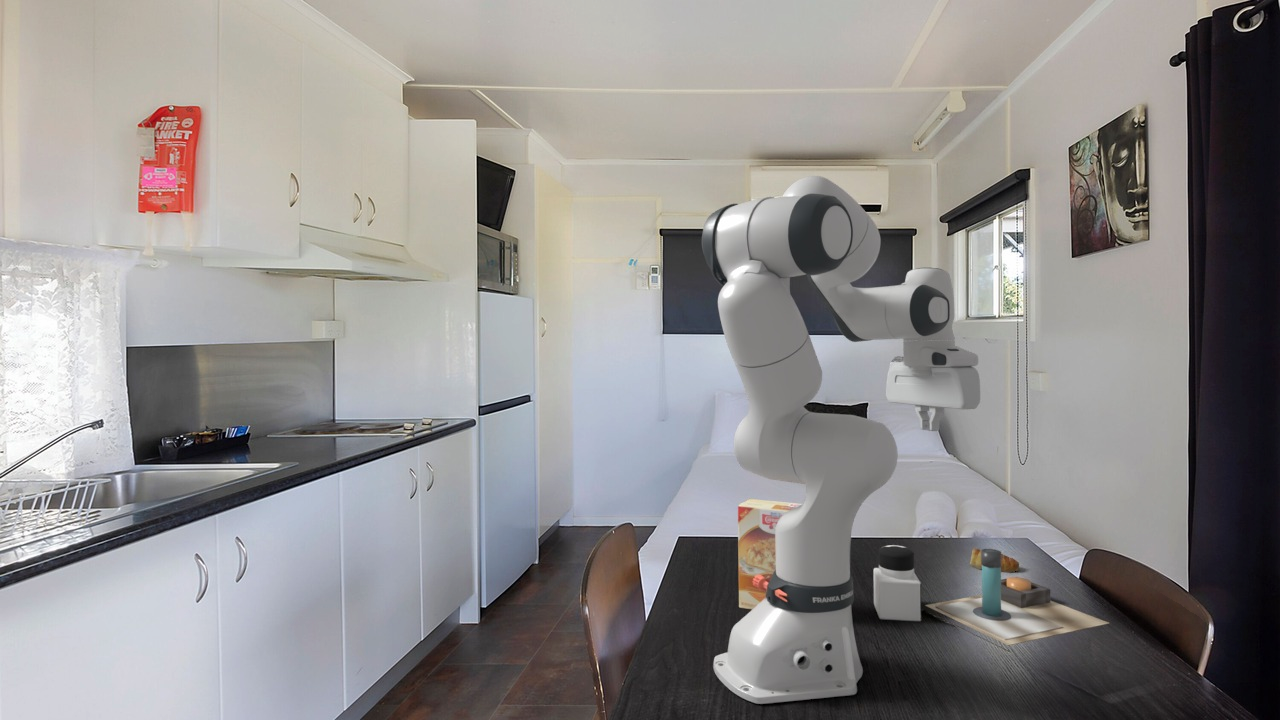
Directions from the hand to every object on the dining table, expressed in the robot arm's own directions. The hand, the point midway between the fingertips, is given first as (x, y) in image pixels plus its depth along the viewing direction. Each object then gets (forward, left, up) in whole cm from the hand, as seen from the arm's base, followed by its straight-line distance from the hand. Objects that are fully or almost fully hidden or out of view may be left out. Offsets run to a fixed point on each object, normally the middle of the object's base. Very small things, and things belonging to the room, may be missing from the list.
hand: (929, 430), depth 125 cm
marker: (+5, -9, -32) cm, 33 cm away
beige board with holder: (+9, -10, -33) cm, 36 cm away
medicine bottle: (-8, 0, -33) cm, 34 cm away
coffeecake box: (-26, +10, -33) cm, 43 cm away
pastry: (+29, +13, -34) cm, 46 cm away
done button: (+16, -5, -32) cm, 36 cm away
